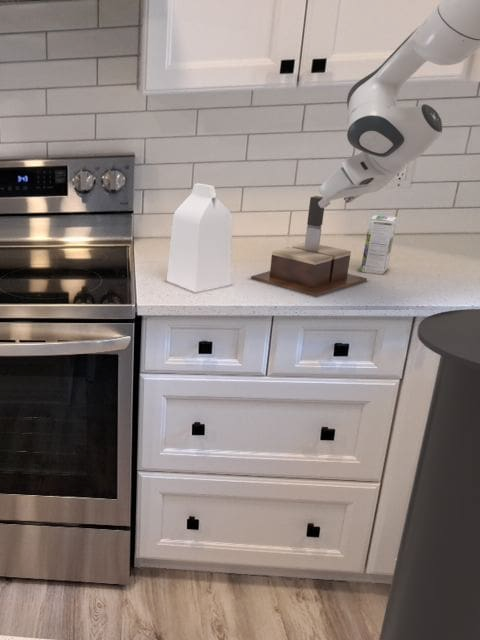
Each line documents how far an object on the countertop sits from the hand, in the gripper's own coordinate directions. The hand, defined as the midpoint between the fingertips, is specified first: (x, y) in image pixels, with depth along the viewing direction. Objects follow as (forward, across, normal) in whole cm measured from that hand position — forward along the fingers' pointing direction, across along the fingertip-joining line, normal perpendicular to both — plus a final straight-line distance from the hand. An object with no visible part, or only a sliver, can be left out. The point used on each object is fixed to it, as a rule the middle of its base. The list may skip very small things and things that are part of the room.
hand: (334, 202), depth 172 cm
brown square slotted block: (+17, +2, +12) cm, 21 cm away
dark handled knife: (+12, +2, +7) cm, 14 cm away
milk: (+28, +25, +1) cm, 38 cm away
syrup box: (+14, -19, +16) cm, 28 cm away
